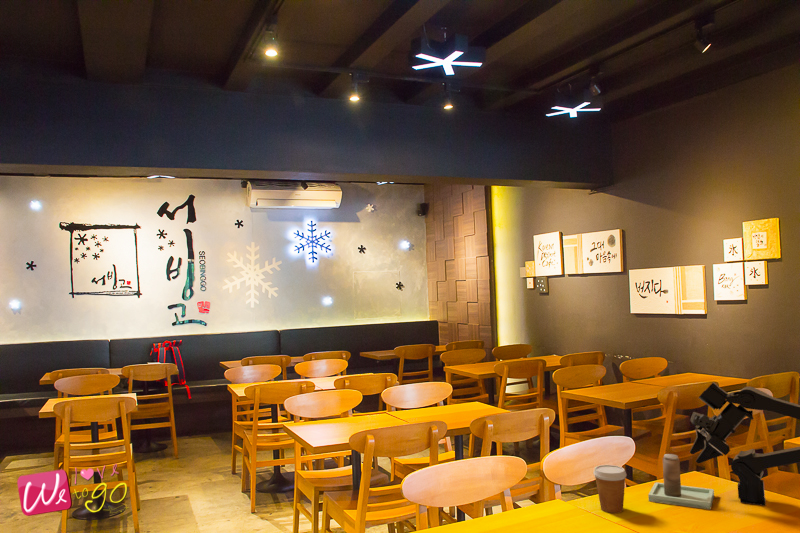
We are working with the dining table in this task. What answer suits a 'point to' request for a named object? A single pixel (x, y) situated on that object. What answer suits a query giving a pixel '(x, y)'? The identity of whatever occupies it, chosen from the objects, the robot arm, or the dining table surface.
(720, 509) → the dining table surface
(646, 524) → the dining table surface
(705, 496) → the tray
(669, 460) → the pepper mill
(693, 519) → the dining table surface
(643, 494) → the dining table surface
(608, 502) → the disposable coffee cup
